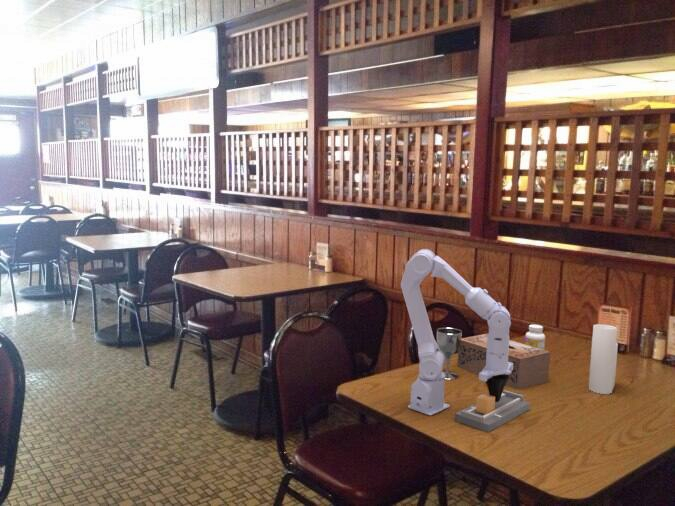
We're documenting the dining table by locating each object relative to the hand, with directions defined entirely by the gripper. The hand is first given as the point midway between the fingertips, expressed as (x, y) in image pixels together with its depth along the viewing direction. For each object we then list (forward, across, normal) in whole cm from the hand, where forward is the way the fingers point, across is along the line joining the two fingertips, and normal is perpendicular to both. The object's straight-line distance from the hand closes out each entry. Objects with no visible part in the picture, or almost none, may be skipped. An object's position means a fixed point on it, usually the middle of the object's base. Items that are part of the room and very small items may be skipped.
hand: (495, 400), depth 158 cm
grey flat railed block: (+4, 0, 0) cm, 4 cm away
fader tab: (+2, -5, 0) cm, 5 cm away
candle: (+4, +44, -12) cm, 45 cm away
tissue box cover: (+4, +32, +16) cm, 37 cm away
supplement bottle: (+4, +53, +16) cm, 56 cm away
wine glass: (+4, +17, +27) cm, 32 cm away
